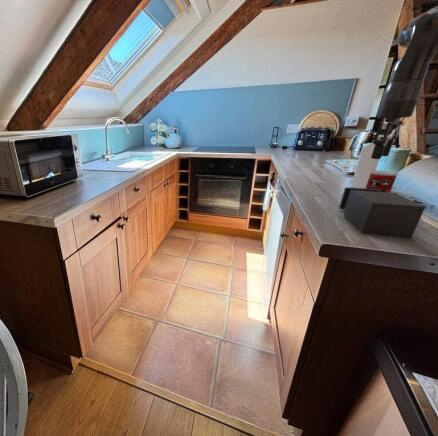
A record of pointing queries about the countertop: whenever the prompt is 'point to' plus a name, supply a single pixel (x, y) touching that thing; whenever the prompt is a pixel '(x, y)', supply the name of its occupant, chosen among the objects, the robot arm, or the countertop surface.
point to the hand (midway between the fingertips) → (379, 157)
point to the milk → (364, 167)
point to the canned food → (381, 180)
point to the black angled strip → (348, 193)
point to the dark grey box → (383, 213)
